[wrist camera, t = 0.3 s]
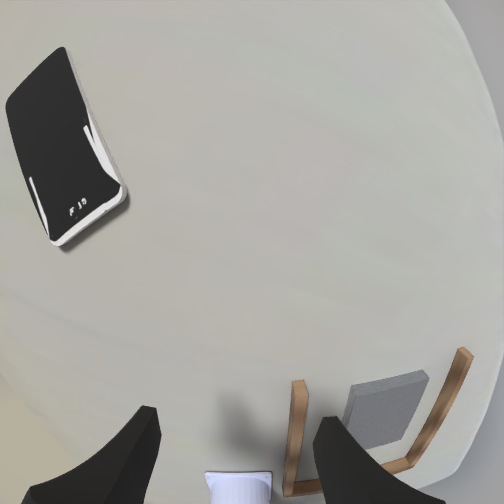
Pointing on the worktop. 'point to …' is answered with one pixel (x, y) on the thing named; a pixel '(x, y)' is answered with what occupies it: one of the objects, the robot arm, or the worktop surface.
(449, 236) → the worktop surface
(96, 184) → the smartphone
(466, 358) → the walnut u-shaped frame
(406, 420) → the cover plate
